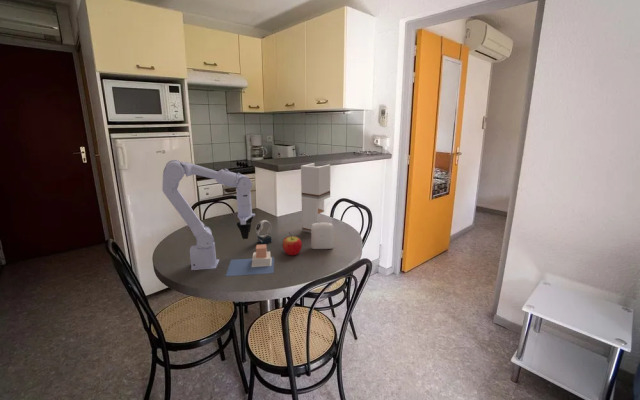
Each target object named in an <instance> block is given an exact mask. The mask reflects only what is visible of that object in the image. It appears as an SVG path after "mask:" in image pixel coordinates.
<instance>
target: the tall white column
mask: <svg viewBox="0 0 640 400" xmlns="http://www.w3.org/2000/svg"><path fill="white" fill-rule="evenodd" d="M300 186H301V187H300V188H301V190H300V193H301V230H302V231H301V232H306V233H309V234H311V227H312V224H314V223H319V214H321V213H324V212H325V199H326V200H327V199H328V198H331V164H326V165H321V166H315V162H313V163H312V162H311V163H308V164H303V165H300Z"/></svg>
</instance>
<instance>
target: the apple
mask: <svg viewBox="0 0 640 400" xmlns="http://www.w3.org/2000/svg"><path fill="white" fill-rule="evenodd" d="M288 233H289V235H290V236H287V237H285V238H284V239H283V241H282V248H283V251H284V253H285V254H287V255H288V256H296V255H298V254H300V252H301V250H302V246H303V244H302V243H303V242H302V240H301V239H300V237H297V236H292V234H291V232H288Z"/></svg>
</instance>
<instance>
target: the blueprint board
mask: <svg viewBox="0 0 640 400" xmlns="http://www.w3.org/2000/svg"><path fill="white" fill-rule="evenodd" d="M226 271H227V272H226V273H225V277H234V276H235V277H236V276H237V277H238V276H250V275H252V276H253V275H266V274H267V275H268V274H275V273H274V272H275V256H271V261H270V265H267V266H253V265H252V258H239V259H237V258H236V259H235V258H234V259H230V262H229V265H228V268H227V270H226Z"/></svg>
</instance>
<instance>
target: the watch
mask: <svg viewBox="0 0 640 400" xmlns="http://www.w3.org/2000/svg"><path fill="white" fill-rule="evenodd" d="M265 223H268V228H267V230H266V233H264V234H260V233H261V232H262V230H263V228H264V224H265ZM254 230H255V233H256V235H257V242H258V243H259V244H261V245H263V244H266V245H267V244H271V243H272V236H270V235H271V232H272V230H273V226H272V223H271V222H270V221H268V220H266V219H263V220H260V221H258V222H257V223H256V224H255V227H254Z"/></svg>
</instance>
